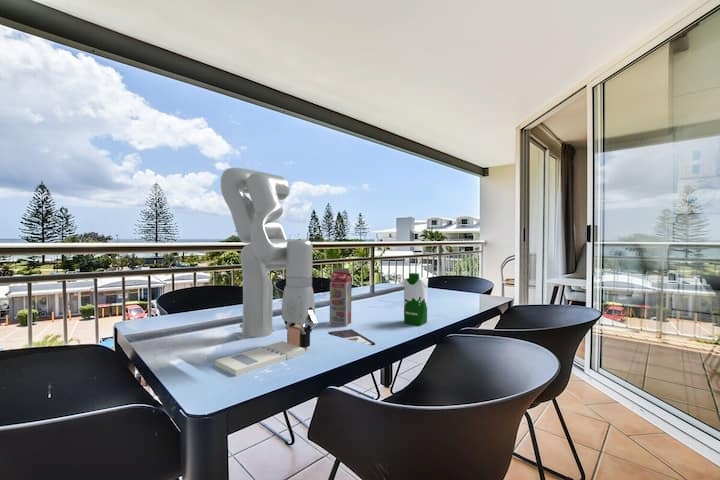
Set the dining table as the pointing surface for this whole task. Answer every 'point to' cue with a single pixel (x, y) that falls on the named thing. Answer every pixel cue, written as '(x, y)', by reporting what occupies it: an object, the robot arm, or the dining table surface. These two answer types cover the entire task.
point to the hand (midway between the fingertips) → (298, 344)
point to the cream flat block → (249, 360)
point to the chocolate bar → (352, 336)
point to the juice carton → (340, 297)
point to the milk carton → (415, 299)
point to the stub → (290, 343)
